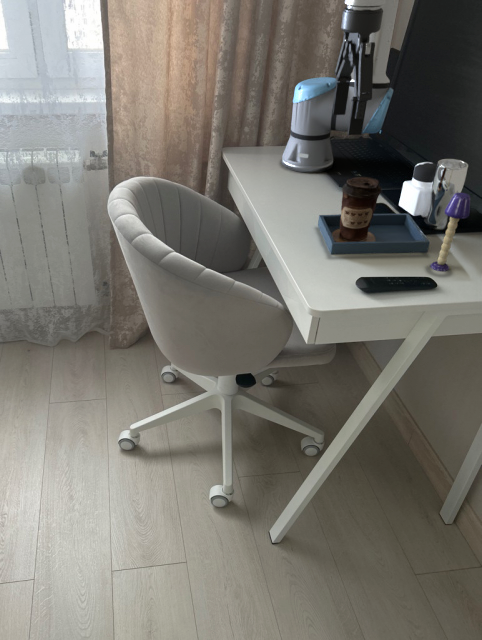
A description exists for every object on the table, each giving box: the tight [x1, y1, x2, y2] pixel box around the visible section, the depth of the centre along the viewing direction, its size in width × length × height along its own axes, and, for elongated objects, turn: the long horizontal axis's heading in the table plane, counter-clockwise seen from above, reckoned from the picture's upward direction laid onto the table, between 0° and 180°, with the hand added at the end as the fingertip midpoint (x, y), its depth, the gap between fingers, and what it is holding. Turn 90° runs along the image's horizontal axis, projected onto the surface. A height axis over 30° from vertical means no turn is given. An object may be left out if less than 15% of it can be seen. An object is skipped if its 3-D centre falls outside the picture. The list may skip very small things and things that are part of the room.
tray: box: [317, 212, 431, 255], centre depth 130 cm, size 15×22×4 cm
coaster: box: [332, 229, 375, 242], centre depth 131 cm, size 10×10×1 cm
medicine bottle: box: [398, 161, 438, 218], centre depth 140 cm, size 7×7×12 cm
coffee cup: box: [339, 176, 382, 242], centre depth 126 cm, size 9×8×13 cm
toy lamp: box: [429, 192, 471, 273], centre depth 116 cm, size 5×5×17 cm
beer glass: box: [423, 158, 469, 232], centre depth 133 cm, size 7×7×15 cm
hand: (346, 124), depth 121 cm, fingers open, 13 cm apart
